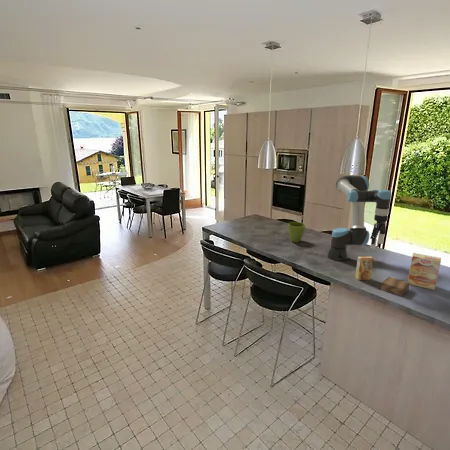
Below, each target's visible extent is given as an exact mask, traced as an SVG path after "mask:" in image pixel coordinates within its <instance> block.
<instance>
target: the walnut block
mask: <svg viewBox="0 0 450 450" xmlns="http://www.w3.org/2000/svg"><path fill="white" fill-rule="evenodd" d="M410 285H411V284H410V283H409V282H408V281H405V280H401V279H398V278H396V277H392V276H388V277H387V278H386V279H384V280H383V281H382V282H381V286H380V290H381V291H385V292H387V293H391V294H394V295H396V296H400V297H403V296H404V295H405V294H406V293H407V292H408V291H409V289H410V288H409V287H410Z"/></svg>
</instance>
